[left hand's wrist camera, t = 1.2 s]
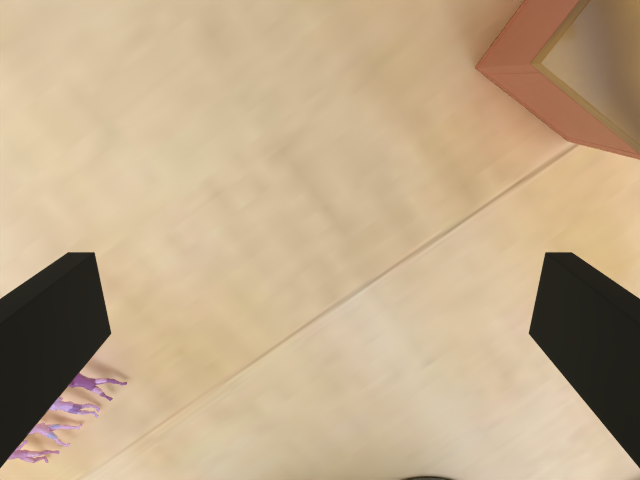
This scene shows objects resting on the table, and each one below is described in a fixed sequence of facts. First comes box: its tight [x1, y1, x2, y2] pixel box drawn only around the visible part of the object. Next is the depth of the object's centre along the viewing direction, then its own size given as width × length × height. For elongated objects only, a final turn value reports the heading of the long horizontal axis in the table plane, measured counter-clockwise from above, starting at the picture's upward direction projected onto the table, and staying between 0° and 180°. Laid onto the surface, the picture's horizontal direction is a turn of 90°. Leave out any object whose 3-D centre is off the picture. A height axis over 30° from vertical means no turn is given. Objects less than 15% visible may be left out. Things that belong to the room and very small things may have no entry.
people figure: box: [8, 373, 127, 463], centre depth 42 cm, size 18×6×8 cm
